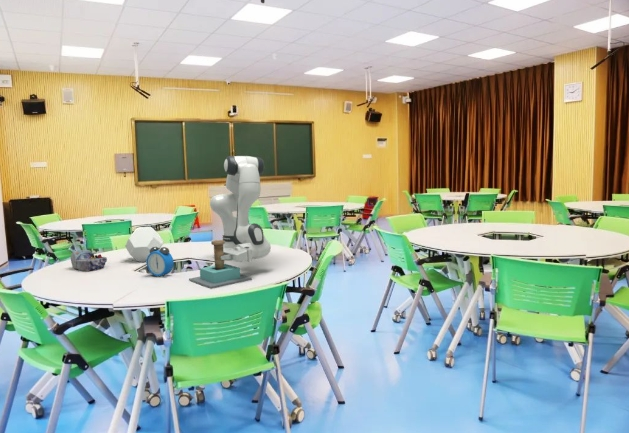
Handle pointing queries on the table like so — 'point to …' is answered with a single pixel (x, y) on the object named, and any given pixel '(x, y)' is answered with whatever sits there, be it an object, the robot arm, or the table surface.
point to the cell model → (87, 260)
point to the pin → (218, 253)
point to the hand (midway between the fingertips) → (217, 257)
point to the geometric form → (143, 242)
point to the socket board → (211, 285)
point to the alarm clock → (159, 261)
